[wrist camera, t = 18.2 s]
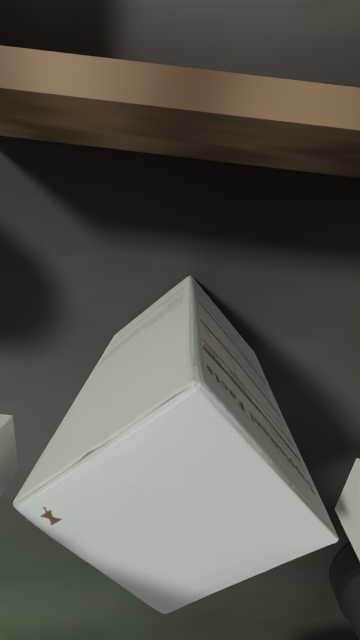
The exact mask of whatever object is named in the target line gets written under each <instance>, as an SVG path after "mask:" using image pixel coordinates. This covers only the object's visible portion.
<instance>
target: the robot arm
mask: <svg viewBox="0 0 360 640" xmlns="http://www.w3.org/2000/svg"><path fill="white" fill-rule="evenodd" d="M18 470H19V468H18V460H17V451H16V443H15V434H14V426H13V418H12V416H11V415H3V414H0V496H1V495H2V493H3V492H4V490H5V489H6V487H7V486H8V485H9V483H10V482H11V480H12V479H13V477H14V476H15V475H16V473H17V472H18ZM335 511H336V513H337V515H338V517H339V519H340V521H341V524H342V526H343V528H344V530H345V532H346V534H347V536H348V538H349V540H350V543H349V544H348V545H347V546H345V547H344V548H343V549H342V550H341V551H340V552H339V554H338V555H337V556H336V558H335V559H334V561H333V563H332V565H331V568H330V573H329V578H330V583H331V586H332V589H333V591H334V594H335V597H336V599H337V602H338V605H339V607H340V609H341V611H342V614H343V616H344V617H345V619H346V620H347V622H348V623H349V624H350V626H351V627H352V629H353V631H354V632H355V634H356V635H357V637H358V639H359V640H360V458H356V461H355V463H354V465H353V467H352V470H351V472H350V474H349V477H348V479H347V481H346V484H345V486H344V488H343V491H342V493H341V495H340V498H339V500H338V502H337V505H336V507H335Z"/></svg>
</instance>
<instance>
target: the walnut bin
mask: <svg viewBox="0 0 360 640" xmlns="http://www.w3.org/2000/svg"><path fill="white" fill-rule="evenodd" d="M0 136H8V137H17V138H25V139H34V140H42V141H51V142H59V143H68V144H76V145H85V146H93V147H101V148H110V149H118V150H127V151H135V152H144V153H152V154H161V155H169V156H178V157H186V158H195V159H203V160H212V161H220V162H229V163H237V164H246V165H254V166H263V167H271V168H280V169H288V170H297V171H305V172H314V173H322V174H331V175H339V176H348V177H356V178H360V88H356V87H348V86H340V85H331V84H323V83H314V82H306V81H297V80H289V79H280V78H272V77H264V76H255V75H247V74H238V73H230V72H221V71H213V70H204V69H196V68H187V67H179V66H171V65H162V64H154V63H145V62H137V61H128V60H120V59H111V58H103V57H95V56H86V55H78V54H69V53H61V52H52V51H44V50H35V49H27V48H18V47H10V46H2V45H0Z"/></svg>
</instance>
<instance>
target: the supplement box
mask: <svg viewBox="0 0 360 640" xmlns="http://www.w3.org/2000/svg"><path fill="white" fill-rule="evenodd" d="M13 507H15V508H16V509H17V510H18V511H19V512H20V513H21V514H22V515H23V516H24V517H26V518H27V519H28V520H29V521H31V522H32V523H33V524H34V525H36V526H37V527H38V528H40V529H41V530H42V531H44V532H45V533H46V534H48V535H49V536H50V537H52V538H53V539H54V540H56V541H57V542H59V543H60V544H62V545H63V546H65V547H66V548H68V549H69V550H70V551H72V552H73V553H75V554H76V555H78V556H79V557H80V558H82V559H83V560H85V561H86V562H88V563H89V564H91V565H92V566H94V567H95V568H97V569H98V570H100V571H101V572H102V573H104V574H105V575H107V576H108V577H109V578H111V579H112V580H114V581H115V582H116V583H118V584H119V585H121V586H122V587H124V588H125V589H127V590H128V591H129V592H131V593H132V594H134V595H135V596H136V597H138V598H139V599H141V600H142V601H143V602H145V603H146V604H148V605H149V606H151V607H152V608H154V609H156V610H157V611H159V612H161V613H163V614H165V613H169V612H172V611H174V610H176V609H178V608H181V607H183V606H185V605H187V604H189V603H192V602H194V601H196V600H199V599H201V598H203V597H205V596H208V595H210V594H212V593H215V592H217V591H220V590H222V589H224V588H227V587H229V586H231V585H234V584H236V583H238V582H241V581H243V580H245V579H248V578H250V577H253V576H255V575H257V574H260V573H262V572H264V571H267V570H269V569H272V568H274V567H276V566H279V565H281V564H283V563H286V562H288V561H291V560H293V559H295V558H298V557H300V556H303V555H306V554H308V553H310V552H313V551H316V550H318V549H320V548H323V547H325V546H328V545H331V544H333V543H336V542H337V541H338V540H339V538H338V536H337V534H336V531H335V529H334V527H333V524H332V522H331V520H330V518H329V516H328V513H327V511H326V509H325V507H324V505H323V503H322V500H321V498H320V496H319V494H318V492H317V490H316V487H315V485H314V483H313V481H312V479H311V477H310V474H309V472H308V470H307V468H306V465H305V463H304V461H303V459H302V457H301V454H300V452H299V450H298V448H297V446H296V444H295V442H294V439H293V437H292V435H291V433H290V431H289V429H288V427H287V425H286V422H285V420H284V418H283V416H282V414H281V411H280V409H279V407H278V405H277V402H276V400H275V398H274V396H273V393H272V391H271V389H270V387H269V384H268V382H267V380H266V378H265V375H264V373H263V371H262V368H261V366H260V364H259V361H258V359H257V357H256V355H255V353H254V351H253V350H252V349H251V348H250V346H249V345H248V344H247V343H246V342H245V340H244V339H243V338H242V337H241V336H240V334H239V333H238V332H237V331H236V329H235V328H234V327H233V326H232V325H231V323H230V322H229V321H228V320H227V318H226V317H225V316H224V315H223V314H222V312H221V311H220V310H219V309H218V307H217V306H216V305H215V304H214V303H213V301H212V300H211V299H210V298H209V296H208V295H207V294H206V293H205V292H204V290H203V289H202V288H201V287H200V286H199V284H198V283H197V282H196V281H195V280H194V278H193V277H192V276H188V277H187V278H186V279H184V280H183V281H182V282H180V283H179V284H178V285H176V286H175V287H174V288H172V289H171V290H170V291H169V292H167V293H166V294H165V295H164V296H162V297H161V298H160V299H159V300H157V301H156V302H155V303H154V304H152V305H151V306H150V307H149V308H148V309H146V310H145V311H144V312H143V313H141V314H140V315H139V316H138V317H136V318H135V319H134V320H133V321H132V322H130V323H129V324H128V325H127V326H125V327H124V328H123V329H122V330H120V331H119V332H118V333H117V334H115V335H114V337H113V339H112V340H111V342H110V344H109V345H108V347H107V348H106V350H105V352H104V353H103V355H102V357H101V358H100V360H99V362H98V363H97V365H96V367H95V368H94V370H93V371H92V373H91V375H90V376H89V378H88V380H87V381H86V383H85V385H84V386H83V388H82V389H81V391H80V393H79V394H78V396H77V398H76V399H75V401H74V403H73V404H72V406H71V408H70V409H69V411H68V412H67V414H66V416H65V417H64V419H63V421H62V422H61V424H60V426H59V427H58V429H57V431H56V432H55V434H54V435H53V437H52V439H51V440H50V442H49V444H48V445H47V447H46V449H45V450H44V452H43V453H42V455H41V457H40V458H39V460H38V462H37V463H36V465H35V467H34V468H33V470H32V471H31V473H30V475H29V476H28V478H27V480H26V481H25V483H24V485H23V486H22V488H21V490H20V491H19V493H18V495H17V496H16V498H15V500H14V502H13Z"/></svg>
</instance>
